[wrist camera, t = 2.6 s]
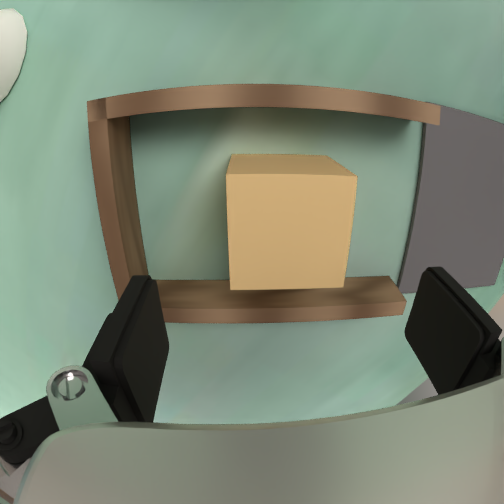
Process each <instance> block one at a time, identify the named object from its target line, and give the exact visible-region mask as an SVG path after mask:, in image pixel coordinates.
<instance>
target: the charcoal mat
mask: <svg viewBox="0 0 504 504" xmlns="http://www.w3.org/2000/svg"><path fill="white" fill-rule="evenodd" d="M426 103H430V102H426ZM430 104H434V103H430ZM435 105H438V104H435ZM439 106H441V109H440V125H434V124H429V123H424V124H423V137H422V148H421V158H420V167H419V175H418V183H417V190H416V196H415V203H414V209H413V215H412V220H411V226H410V231H409V236H408V241H407V246H406V250H405V255H404V259H403V264H402V268H401V272H400V276H399V280H398V284H397V288H398V289H399V291H400V292H401V293H415V292H417V289H418V285H419V282H420V278H421V275H422V273H423V272H424V271H425V270H426V268H428V267H438V266H440V267H443V268H444V269H445V270H446V271H447V272H448V273H449V274H450V275H451V276H452V277H453V278H454V279H455V280H456V281H457V282H458V283H459V284H460V285H461V286H462V287H463V288H471V287H481V286H490V285H494V284H495V282H496V279H497V276H498V273H499V270H500V267H501V264H502V261H503V258H504V124H502V123H499V122H496V121H493V120H490V119H487V118H484V117H481V116H478V115H475V114H471V113H468V112H465V111H461V110H457V109H454V108H450V107H446V106H442V105H439Z"/></svg>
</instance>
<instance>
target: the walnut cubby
mask: <svg viewBox="0 0 504 504" xmlns="http://www.w3.org/2000/svg"><path fill="white" fill-rule="evenodd" d="M222 107H289V108H310V109H325V110H338V111H348V112H358V113H366V114H374V115H382V116H389V117H395V118H402V119H408V120H413V121H419V122H424V123H429V124H434V125H440V109H441V106H439V105H435V104H430V103H426V102H421V101H417V100H412V99H407V98H402V97H396V96H391V95H385V94H378V93H372V92H365V91H357V90H349V89H340V88H330V87H319V86H305V85H284V84H224V85H204V86H189V87H178V88H168V89H159V90H151V91H143V92H136V93H130V94H124V95H118V96H112V97H107V98H101V99H96V100H91V101H87V112H88V127H89V139H90V150H91V159H92V168H93V175H94V183H95V190H96V196H97V203H98V209H99V214H100V220H101V226H102V231H103V236H104V241H105V246H106V250H107V255H108V259H109V264H110V268H111V272H112V276H113V280H114V284H115V288H116V292H117V296H118V300H119V299H120V297H121V296H122V294H123V292H124V290H125V288H126V286H127V285H128V283H129V281H130V279H131V277H132V276H133V275H148V269H147V264H146V258H145V252H144V246H143V240H142V234H141V227H140V220H139V213H138V205H137V197H136V189H135V180H134V171H133V160H132V149H131V136H130V120H129V116H130V115H137V114H145V113H154V112H163V111H174V110H186V109H201V108H222ZM156 281H157V286H158V291H159V297H160V302H161V307H162V312H163V317H164V322H170V323H280V322H307V321H327V320H344V319H359V318H372V317H383V316H394V315H403V312H404V309H405V305H406V302H407V301H406V299H405V298H404V296H403V295H402V293H401V292H400V291H399V289H398V288H397V286H396V285H395V284H394V282H393V281H392V279H391V278H390V277H389V276H374V277H346V278H345V280H344V286H343V287H339V288H310V289H269V290H230V280H156Z"/></svg>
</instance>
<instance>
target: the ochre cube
mask: <svg viewBox="0 0 504 504" xmlns="http://www.w3.org/2000/svg"><path fill="white" fill-rule="evenodd" d="M357 177H358V176H356V175H355V174H353V173H352V172H350V171H349V170H347V169H346V168H345V167H343V166H342V165H340V164H339V163H337V162H336V161H334V160H333V159H331V158H330V157H328V156H324V155H297V154H232V155H231V159H230V162H229V165H228V169H227V172H226V194H227V224H228V249H229V272H230V290H269V289H310V288H339V287H343V286H344V280H345V273H346V267H347V260H348V254H349V247H350V239H351V232H352V224H353V216H354V207H355V197H356V187H357Z"/></svg>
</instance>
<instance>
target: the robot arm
mask: <svg viewBox="0 0 504 504" xmlns="http://www.w3.org/2000/svg"><path fill="white" fill-rule="evenodd" d="M501 332H502V329H501V328H500V327H499V326H498V325H497V324H496V323H495V321H494V320H493V319H492V318H491V317H490V316H489V315H488V313H487V312H486V311H485V310H484V309H483V308H482V307H481V306H480V305H479V304H478V303H477V302H476V301H475V299H474V298H473V297H472V296H471V295H470V294H469V293H468V292H467V291H466V290H465V289H464V288H463V287H462V286H461V285H460V284H459V283H458V282H457V281H456V280H455V279H454V278H453V277H452V276H451V275H450V274H449V273H448V272H447V271H446V270H445V269H444V268H443V267H440V266H438V267H428V268H426V270H425V271H424V272H423V273H422V275H421V278H420V282H419V285H418V289H417V292H416V296H415V299H414V303H413V306H412V309H411V312H410V315H409V318H408V321H407V324H406V327H405V337H406V339H407V341H408V342H409V344H410V346H411V347H412V349H413V351H414V352H415V354H416V356H417V358H418V359H419V361H420V363H421V364H422V366H423V368H424V370H425V371H426V373H427V375H428V377H429V378H430V380H431V382H432V384H433V386H434V387H435V389H436V391H437V393H438V395H437V396H433V397H430V398H426V399H422V400H418V401H414V402H410V403H406V404H401V405H397V406H392V407H387V408H382V409H377V410H372V411H366V412H361V413H355V414H348V415H342V416H335V417H327V418H319V419H310V420H300V421H289V422H276V423H258V424H174V423H153V420H154V415H155V410H156V405H157V401H158V396H159V391H160V387H161V382H162V378H163V373H164V369H165V365H166V360H167V356H168V352H169V341H168V336H167V331H166V327H165V322H164V317H163V312H162V307H161V302H160V297H159V291H158V286H157V281H156V280H152V279H151V277H150V276H149V275H133V276H132V277H131V279H130V281H129V283H128V285H127V286H126V288H125V290H124V292H123V294H122V296H121V297H120V299H119V301H118V303H117V305H116V307H115V309H114V311H113V313H110V314H109V315H108V316H107V318H106V320H105V322H104V323H103V325H102V327H101V329H100V331H99V333H98V335H97V337H96V339H95V341H94V343H93V345H92V347H91V349H90V351H89V353H88V355H87V357H86V359H85V361H84V364H83V366H82V367H81V366H67V367H64V368H62V369H60V370H58V371H56V372H55V373H54V374H53V375H52V376H51V377H50V379H49V380H48V382H47V386H46V392H47V396H45V397H43V398H41V399H39V400H37V401H35V402H33V403H31V404H29V405H27V406H25V407H23V408H21V409H19V410H17V411H15V412H13V413H10V414H8V415H6V416H4V417H2V418H1V419H0V504H504V337H503V338H502V340H501V342H500V341H499V339H498V338H499V336H500V334H501Z"/></svg>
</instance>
